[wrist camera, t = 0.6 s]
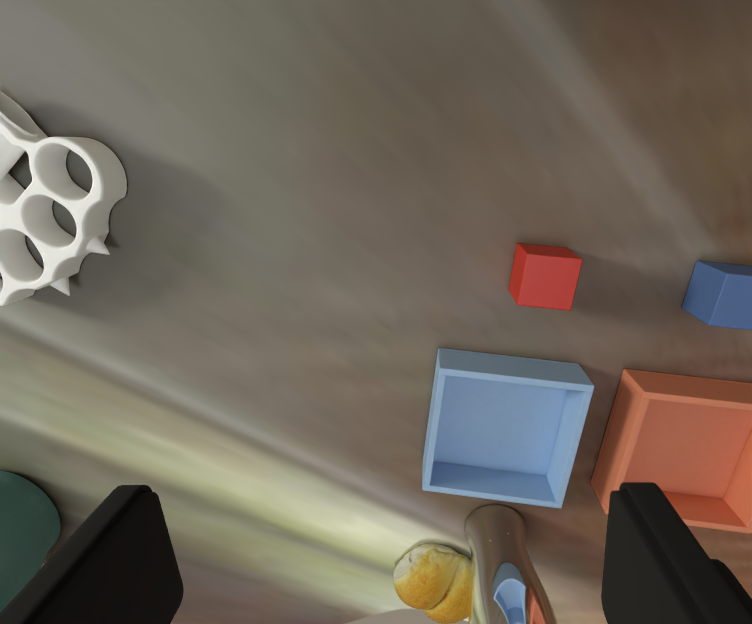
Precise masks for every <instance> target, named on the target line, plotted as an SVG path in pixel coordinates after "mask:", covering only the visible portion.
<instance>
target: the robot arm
mask: <svg viewBox="0 0 752 624" xmlns="http://www.w3.org/2000/svg"><path fill="white" fill-rule="evenodd" d="M182 598H183V583H182V580H181V576H180V573H179V569H178V565H177V562H176V558H175V555H174V551H173V547H172V544H171V540H170V537H169V533H168V529H167V526H166V522H165V519H164V515H163V511H162V508H161V504H160V501H159V497H158V495H157V494H156V493H155V492H152V490H151V488H150V487H149V486H147V485H121V486H118V487H117V488H116V489H114V490H113V491H112V492H111V493H110V495H109V496H108V497H107V498H106V499H105V500H104V501H103V502H102V503H101V504H100V505H99V506H98V508H97V509H96V510H95V511H94V512H93V513H92V514H91V515H90V516H89V517H88V518H87V519H86V520H85V522H84V523H83V524H82V525H81V526H80V527H79V528H78V529H77V530H76V531H75V532H74V533H73V535H72V536H71V537H70V538H69V539H68V540H67V541H66V542H65V543H64V544H63V545H62V546H61V548H60V549H59V550H58V551H57V552H56V553H55V554H54V555H53V556H52V557H51V558H50V559H49V560H48V562H47V563H46V564H45V565H44V566H43V567H42V568H41V569H40V570H39V571H38V572H37V573H36V575H35V576H34V577H33V578H32V579H31V580H30V581H29V582H28V583H27V584H26V585H25V586H24V587H23V589H22V590H21V591H20V592H19V593H18V594H17V595H16V596H15V597H14V598H13V599H12V600H11V602H10V603H9V604H8V605H7V606H6V607H5V608H4V609H3V610H2V611H1V612H0V624H170V623H171V621H172V619H173V617H174V615H175V614H176V612H177V610H178V608H179V606H180V604H181V601H182ZM601 598H602V606H603V611H604V614H605V617H606V620H607V623H608V624H752V599H751V598H750V596H749V595H748V594H747V592H746V591H745V590H744V588H743V587H742V585H741V584H740V583H739V581H738V580H737V579H736V577H735V576H734V575H733V573H732V572H731V571H730V570H729V569H728V567H727V566H726V565H725V564H724V563H722V562H721V561H719V560H717V559H710V558H709V557H708V555H707V554H706V553H705V551H704V550H703V548H702V547H701V546H700V544H699V543H698V541H697V540H696V538H695V537H694V536H693V534H692V533H691V531H690V530H689V528H688V527H687V526H686V524H685V523H684V521H683V520H682V519H681V517H680V516H679V514H678V513H677V511H676V510H675V509H674V507H673V506H672V504H671V503H670V502H669V500H668V499H667V497H666V496H665V494H664V493H663V492H662V490H661V489H660V487H659V486H658V485H657V484H656V483H653V482H623V483H621V485H620V487H619V490H613V491H611V493H610V500H609V512H608V524H607V535H606V547H605V559H604V570H603V582H602V595H601Z"/></svg>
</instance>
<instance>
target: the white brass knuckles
mask: <svg viewBox="0 0 752 624" xmlns="http://www.w3.org/2000/svg"><path fill="white" fill-rule="evenodd" d="M70 150H72V151H74V152H75V153H77V154H78V155H80V156H81V157H82V158H83V159H84V160H85V161H86V163H87V164H88V166H89V168H90V170H91V173H92V179H93V183H92V188H91V191H90V193H88V192H86V191H85V190H83V189H82V188H80V187H79V186H77V185H76V184H75V183H74V182H73V181H72V179H71V178H70V176H69V174H68V171H67V168H66V157H67V154H68V152H69V151H70ZM25 151H26V152H27V153H28V156H29V166H30V171H31V174H32V182H31V184H30V185H29V186H28V187H27V189H26V190H25V189H24V188H23V187H22V186H21V185H20V184H19V183H18V182H17V181H16V180H15V179H14V178H13V177H12V176H11V175H10V174H9V173H8V172H9V171H10V169H11V168H12V167H13V166H14V164H15V163H16V162H17V161H18V159H19V158H20V157H21V156H22V154H23V153H24V152H25ZM126 191H127V179H126V174H125V171H124V168H123V166H122V164H121V162H120V161H119V159H118V158H117V156H116V155H115V154H114V153H113V152H112V151H111V150H110V149H109V148H108V147H107V146H105V145H104V144H102V143H100V142H99V141H96V140H94V139H90V138H84V137H49V138H48V137H47V135H46V134H45V133H44V132H43V131H42V130H41V129H40V128H39V127H38V126H37V125H36V124H35V122H34V121H33V120H32V118H31V117H30V116H29V115H28V114H27V113H26V112H25V111H24V110H23V109H22V108H21V107H20V106H19V105H18V104H17V103H16V102H14V101H13V100H12V99H11V98H9V97H8V96H7V95H5V94H4V93H2V92H1V91H0V273H1V275H2V279H3V281H2V280H1V279H0V306H5V305H8V304H11V303H14V302H16V301H19V300H21V299H24V298H27V297H29V296H32V295H34V293H35V290H38V289H41V288H43V287H46V286H49V285H50V286H52V287H54V288H56V289H57V290H59V291H61V292H63V293H65V294H66V295H68V296H70V290H69V278H68V277H70V276H72V275H74V274H76V273H78V272H79V270H80V265H81V263H82V261H83V259H84V258H85V257H86V256H87V255H88V254H89V253H91V252H94V253H101V254H107V255H110V253H109V251H108V250H107V248H106V246H105V244H104V241H105V239H106V237H107V235H108V233H109V224H108V221H109V215H110V211H111V209H112V207H113V206H114V204H115V203H116V202H117V201H119V200H120V199H122V198H124V197H125V196H126ZM54 200H55V201H57V202H58V203H60V204H62V205H63V206H64V207H66V208H67V209H68V210H69V211H70V213H71V214H72V216H73V218H74V220H75V222H76V227H77V234H76V237H73V236H72V235H70V234H69V233H67V232H65V231H64V230H63V229H62V228H61V227H60V226H59V225H58V224H57V222H56V220H55V218H54V216H53V211H52V205H53V201H54ZM26 235H27V236H28V237H29V238H30V239H31V240H32V242H33V243H34V245H35V246H36V248H37V249H38V251H39V252H40V254H41V256H42V259H43V262H44V269H43V268H42V267H40V266H39V265H38V264H37V263H36V261H35V260H34V258H33V257H32V255H31V254H30V252H29V250H28V248H27V246H26V241H25V236H26Z"/></svg>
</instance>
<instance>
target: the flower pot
mask: <svg viewBox="0 0 752 624" xmlns="http://www.w3.org/2000/svg"><path fill="white" fill-rule="evenodd" d="M60 528H61V525H60V518H59V514H58V512H57V510H56V508H55V506H54V504H53V503H52V501H51V500H50V499H49V497H48V496H47V495H46V494H45V493H44V492H43V491H42V490H41V489H40V488H38V487H37V486H36V485H35V484H33V483H32V482H30V481H28V480H27V479H25V478H23V477H21V476H18V475H16V474H13V473H10V472H6V471H1V470H0V612H1V611H2V610H3V609H4V608H5V607H6V606H7V605H8V604H9V603H10V602H11V600H12V599H13V598H14V597H15V596H16V595H17V594H18V593H19V592H20V591H21V590H22V589H23V587H24V586H25V585H26V584H27V583H28V582H29V581H30V580H31V579H32V578H33V577H34V576H35V575H36V573H37V572H38V571H39V570H40V568H41V566H42V564H43V561H44V559H45V557H46V555H47V553H48V552H49V550H50V549H51V548H52V547H53V545H54V544H55V543H56V541H57V540H58V538H59V535H60Z"/></svg>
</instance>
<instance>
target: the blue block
mask: <svg viewBox="0 0 752 624" xmlns="http://www.w3.org/2000/svg"><path fill="white" fill-rule="evenodd" d="M682 309H684V310H686V311H687V312H689V313H690V314H692V315H693V316H695V317H697V318H698V319H700V320H701V321H703V322H705V323H706V324H708V325H709V326H718V327H728V328H737V329H747V330H752V267H751V266H746V265H736V264H726V263H716V262H705V261H697V262H696V265H695V268H694V271H693V274H692V277H691V280H690V284H689V287H688V290H687V293H686V296H685V299H684V302H683V305H682Z"/></svg>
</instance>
